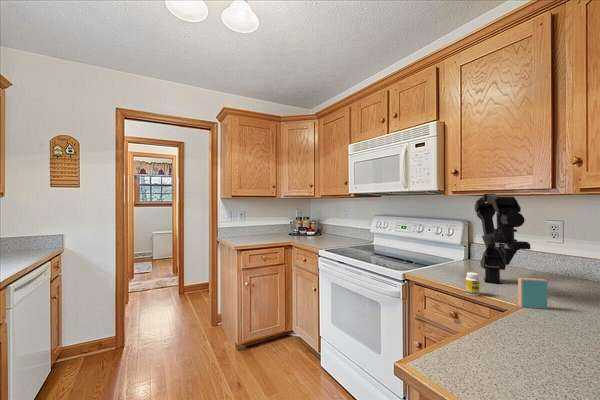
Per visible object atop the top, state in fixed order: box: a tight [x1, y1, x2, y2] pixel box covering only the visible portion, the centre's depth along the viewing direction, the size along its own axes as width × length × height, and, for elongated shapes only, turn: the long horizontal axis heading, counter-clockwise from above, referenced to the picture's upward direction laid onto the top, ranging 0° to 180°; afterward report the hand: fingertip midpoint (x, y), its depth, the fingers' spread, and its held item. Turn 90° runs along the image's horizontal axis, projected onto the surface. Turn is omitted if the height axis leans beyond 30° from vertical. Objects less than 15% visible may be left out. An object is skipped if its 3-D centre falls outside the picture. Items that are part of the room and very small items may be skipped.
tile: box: [517, 277, 548, 310], centre depth 98 cm, size 2×8×10 cm, turn 77°
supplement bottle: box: [465, 271, 480, 297], centre depth 112 cm, size 5×5×8 cm
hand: (506, 264), depth 113 cm, fingers closed
